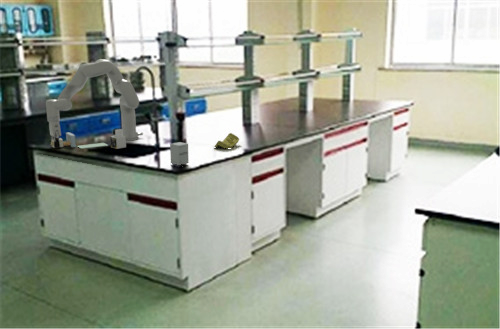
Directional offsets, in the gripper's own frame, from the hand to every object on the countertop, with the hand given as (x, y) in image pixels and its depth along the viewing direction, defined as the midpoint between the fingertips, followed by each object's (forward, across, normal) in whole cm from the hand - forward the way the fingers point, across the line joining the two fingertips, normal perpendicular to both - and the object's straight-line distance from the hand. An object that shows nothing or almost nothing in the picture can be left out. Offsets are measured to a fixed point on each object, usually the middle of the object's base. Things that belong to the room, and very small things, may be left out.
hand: (56, 146), depth 351 cm
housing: (+1, 0, -10) cm, 10 cm away
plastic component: (+1, -60, -94) cm, 112 cm away
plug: (0, 0, -4) cm, 4 cm away
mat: (+1, -9, -21) cm, 23 cm away
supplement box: (+1, -87, -46) cm, 98 cm away
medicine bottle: (+1, -22, -34) cm, 41 cm away
